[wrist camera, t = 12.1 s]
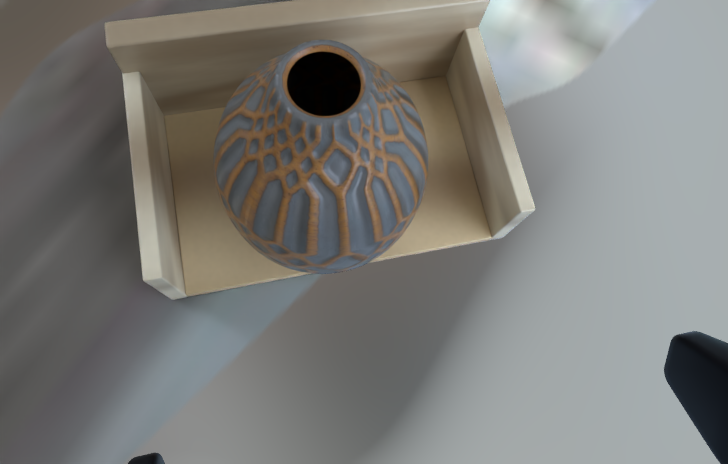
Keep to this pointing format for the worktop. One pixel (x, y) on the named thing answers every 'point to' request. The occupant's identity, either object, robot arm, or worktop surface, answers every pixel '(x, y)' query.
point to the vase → (320, 159)
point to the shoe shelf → (264, 42)
